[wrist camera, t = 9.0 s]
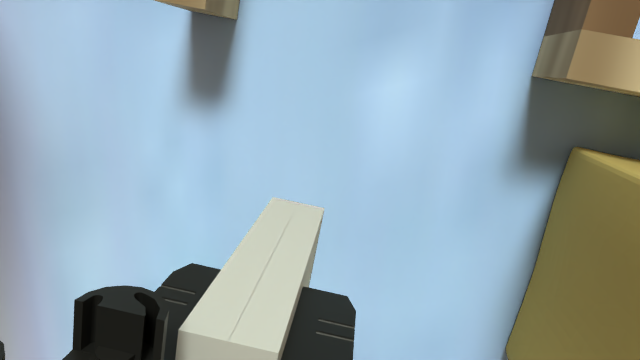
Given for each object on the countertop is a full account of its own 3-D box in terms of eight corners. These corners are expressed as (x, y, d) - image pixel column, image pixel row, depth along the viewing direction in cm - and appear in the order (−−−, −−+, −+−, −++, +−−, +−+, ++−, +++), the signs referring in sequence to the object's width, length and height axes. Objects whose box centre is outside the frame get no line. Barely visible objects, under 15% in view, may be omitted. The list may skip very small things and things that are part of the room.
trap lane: (145, 435, 25) (94, 513, 20) (218, -247, 17) (160, -357, 12) (684, 585, 22) (756, 709, 18) (1072, -127, 14) (1369, -211, 10)
